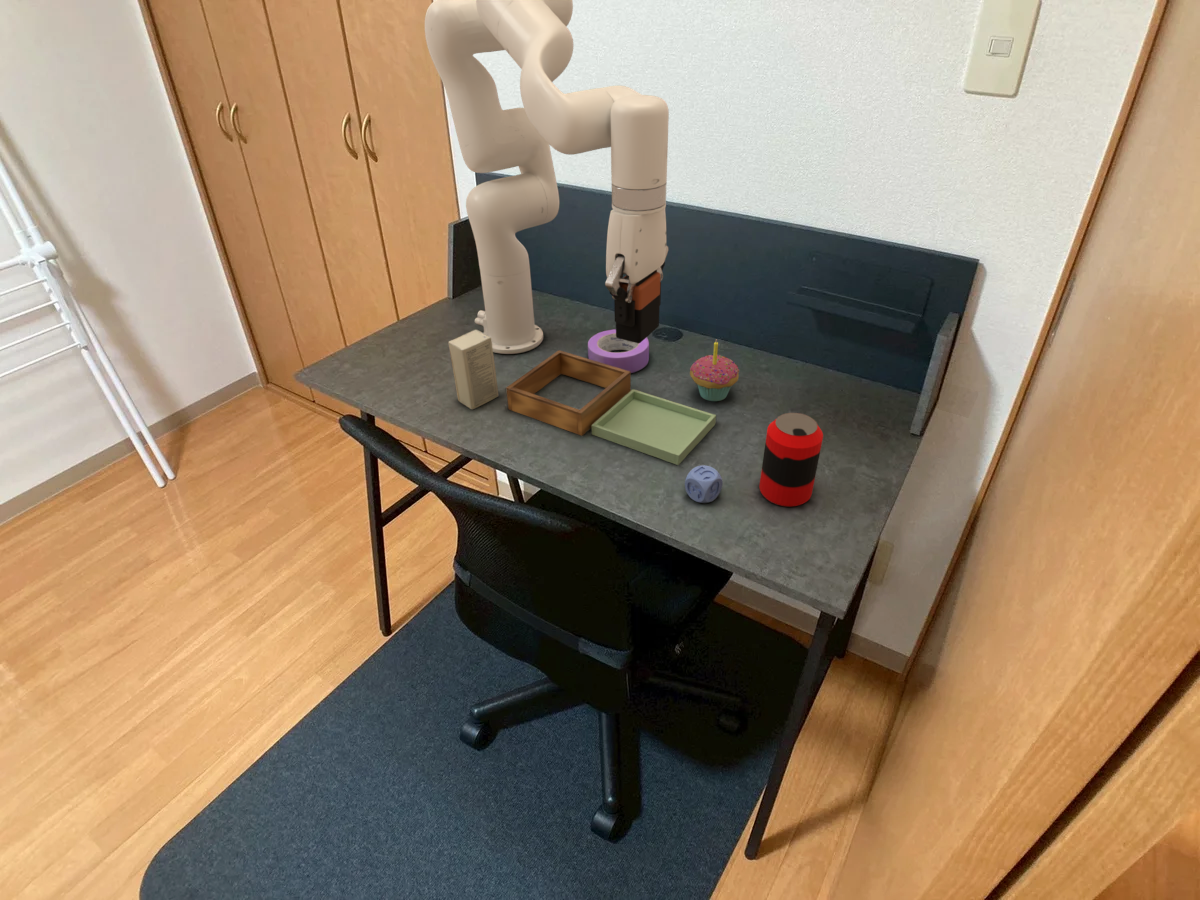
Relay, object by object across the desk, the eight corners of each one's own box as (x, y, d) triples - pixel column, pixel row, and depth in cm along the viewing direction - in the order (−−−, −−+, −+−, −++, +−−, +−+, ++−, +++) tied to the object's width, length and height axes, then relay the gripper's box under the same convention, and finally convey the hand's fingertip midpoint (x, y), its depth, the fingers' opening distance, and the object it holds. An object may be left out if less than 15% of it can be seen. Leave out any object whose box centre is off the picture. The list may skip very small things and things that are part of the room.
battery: (614, 338, 110) (613, 276, 104) (635, 321, 115) (636, 261, 109) (639, 345, 108) (640, 282, 102) (660, 327, 113) (662, 266, 107)
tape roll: (576, 365, 138) (575, 347, 136) (609, 340, 146) (609, 323, 144) (628, 381, 133) (628, 363, 131) (659, 355, 141) (660, 337, 138)
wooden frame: (508, 409, 126) (505, 387, 123) (560, 371, 137) (558, 349, 134) (582, 436, 119) (581, 413, 116) (630, 393, 130) (630, 371, 127)
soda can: (764, 508, 103) (774, 440, 96) (754, 475, 110) (763, 409, 102) (817, 507, 103) (831, 439, 96) (804, 474, 109) (817, 408, 102)
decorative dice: (701, 482, 109) (703, 461, 106) (722, 494, 106) (724, 473, 104) (683, 494, 106) (684, 473, 104) (704, 507, 104) (705, 485, 102)
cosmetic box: (485, 388, 132) (476, 328, 125) (500, 397, 129) (492, 336, 122) (456, 401, 129) (446, 340, 121) (471, 411, 126) (462, 349, 119)
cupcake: (735, 409, 124) (741, 347, 117) (686, 404, 126) (689, 343, 119) (737, 383, 131) (744, 324, 124) (691, 380, 133) (694, 320, 126)
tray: (591, 434, 119) (591, 425, 118) (632, 398, 128) (632, 388, 127) (678, 465, 112) (678, 455, 111) (715, 424, 121) (716, 415, 120)
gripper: (647, 176, 107) (645, 289, 117) (580, 209, 95) (585, 331, 106) (692, 183, 103) (686, 298, 114) (629, 218, 92) (629, 343, 102)
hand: (637, 313), depth 110 cm, fingers closed on battery, 7 cm apart
